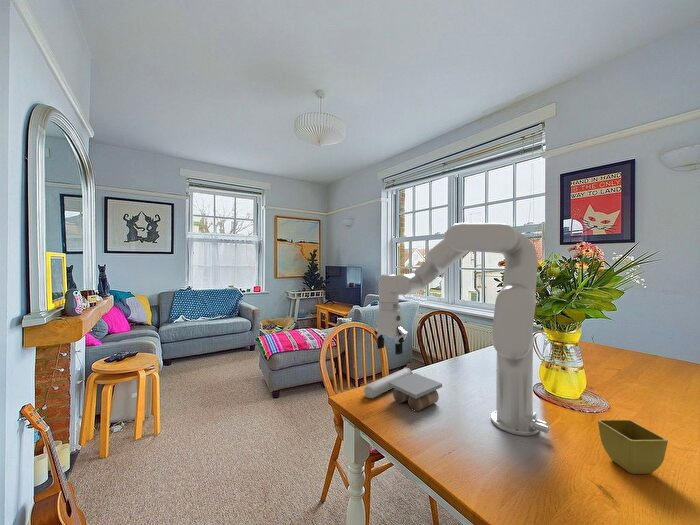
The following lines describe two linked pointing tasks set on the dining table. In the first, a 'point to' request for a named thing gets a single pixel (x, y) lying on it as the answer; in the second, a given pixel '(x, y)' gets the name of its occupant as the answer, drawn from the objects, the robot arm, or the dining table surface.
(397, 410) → the dining table surface
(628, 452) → the flower pot
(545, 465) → the dining table surface
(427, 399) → the rollers
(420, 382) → the slab
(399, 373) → the tube
